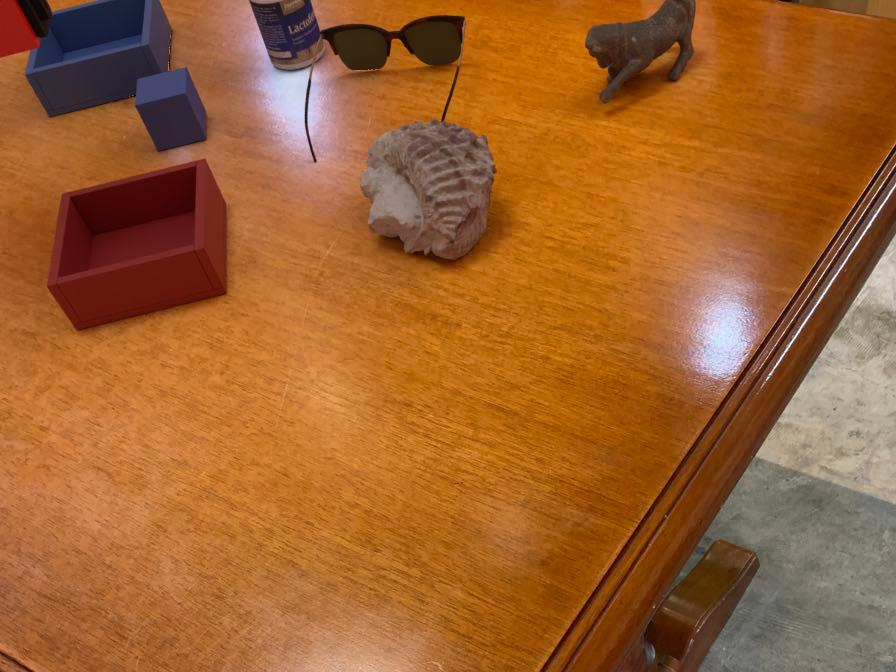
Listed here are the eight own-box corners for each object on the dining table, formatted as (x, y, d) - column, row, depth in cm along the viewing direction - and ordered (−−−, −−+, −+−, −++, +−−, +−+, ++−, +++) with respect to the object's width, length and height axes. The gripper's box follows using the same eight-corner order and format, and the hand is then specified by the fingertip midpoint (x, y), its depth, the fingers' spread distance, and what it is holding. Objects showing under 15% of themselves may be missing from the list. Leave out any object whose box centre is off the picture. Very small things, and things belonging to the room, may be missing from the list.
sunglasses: (476, 61, 99) (465, 12, 95) (456, 164, 92) (443, 115, 87) (334, 74, 102) (317, 26, 97) (304, 175, 94) (284, 128, 90)
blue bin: (48, 117, 105) (24, 74, 101) (60, 56, 112) (38, 14, 109) (168, 87, 105) (148, 44, 101) (172, 28, 112) (153, -14, 109)
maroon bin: (76, 330, 83) (46, 286, 80) (88, 237, 91) (61, 193, 87) (226, 293, 83) (203, 247, 80) (226, 203, 91) (205, 157, 87)
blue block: (157, 151, 98) (134, 105, 94) (159, 125, 101) (137, 78, 97) (206, 139, 98) (185, 92, 94) (207, 113, 101) (186, 66, 97)
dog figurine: (673, 39, 96) (669, -44, 90) (713, 61, 93) (712, -23, 87) (569, 93, 93) (558, 12, 87) (607, 118, 90) (598, 35, 84)
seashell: (326, 173, 86) (362, 62, 80) (421, 181, 92) (462, 78, 85) (398, 289, 80) (443, 179, 73) (495, 290, 86) (545, 189, 79)
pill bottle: (311, 73, 102) (276, -30, 94) (262, 71, 104) (223, -31, 96) (335, 42, 105) (303, -60, 97) (287, 40, 107) (252, -61, 99)
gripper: (-13, -283, 69) (117, -10, 84) (-257, -219, 69) (-85, 43, 84) (-28, -249, 65) (112, 34, 79) (-288, -181, 65) (-101, 89, 79)
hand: (9, 36), depth 81 cm, fingers closed on red block, 4 cm apart
